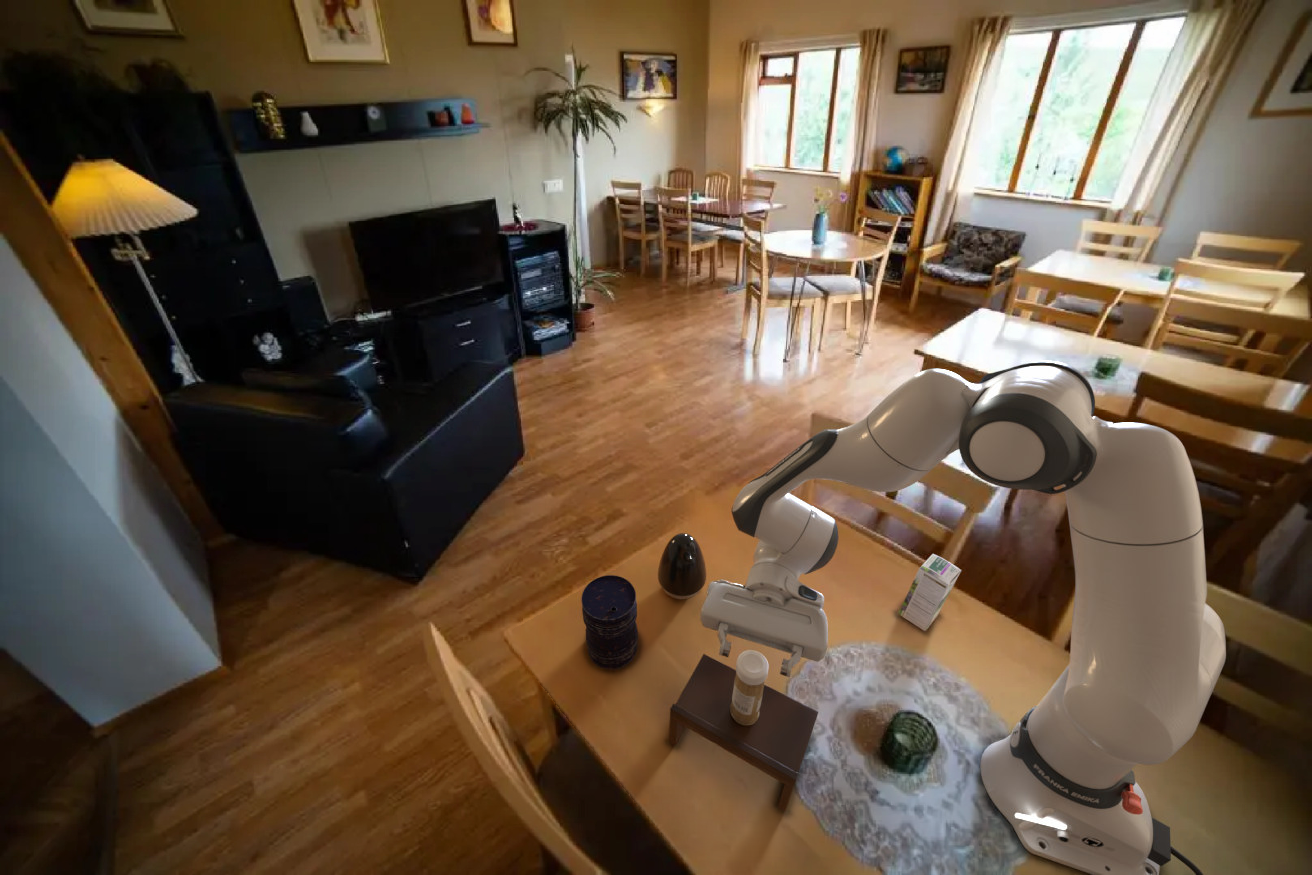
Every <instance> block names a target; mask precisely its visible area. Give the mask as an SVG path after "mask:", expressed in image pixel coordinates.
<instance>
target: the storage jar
mask: <svg viewBox="0 0 1312 875" xmlns="http://www.w3.org/2000/svg"><path fill="white" fill-rule="evenodd" d="M635 589H636V588H635V587H634V585H633V584H632V583H631V581H630V580H628V579H626V578H624V577H623V576H620V575H614V574H609V575H608V574H607V575H601V576H599V577H596V578H594V579H593V580H591V581H590V582H588V584H586V586H585V587H584V589H583V591H582V594H581V612H582V618H583V623H584V625H585V643H586V647H587V653H588V656H589V658H590V660H591V661H592V663H594V664H595V665H596V666H597V667H599V668H601V669H605V670H618V669H621V668H623V667H625V666H627V665H628V664H630V663H631V662H632V661H633V660H634V658H635V656H636V655H637V652H638V646H639V645H638V644H639V643H638V641H639V632H638V625H637V618H638V603H637V594H636V590H635Z"/></svg>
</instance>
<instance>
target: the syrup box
mask: <svg viewBox="0 0 1312 875" xmlns="http://www.w3.org/2000/svg"><path fill="white" fill-rule="evenodd" d="M961 572H962V569H960V568H959V567H957V565H954V564H953V563H952V562H950V561H948V560H946V559H945V558H943V557H941V556H939V555H937V554H934V553H932V554H931V555H930V556H929V557H928V558H927V559H926V560H925V562H923V564H921V566H920V567H919V568H918V570H917V571H916V574H915V577H914V578H913V581H912V583H911V585H910V587H909V589H908V591H907V593H906V596H905V597H904V600H903V603H902V605H901V606H900V609H899V611H898V615H899V616H901V617H902V618H904V619H905V620H907V621H908V622H909V623H912V625H914V626H916V627H917V628H919V629H921V630H922V631H923V632H926V631H927V630H928V629H929V627H930V626H931V625H932V623H933V622H934V621H935V620H936V618H937V617H938V615H939V614H940V613H941V610H942V608H943V606H944V604H945V603H946V601H947V599H948V597H949V595H950V594H951V591H952V589H953V587H954V586H955V584H956V581H957V580H958V577H959V576H960V574H961Z"/></svg>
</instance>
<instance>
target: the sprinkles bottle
mask: <svg viewBox="0 0 1312 875" xmlns="http://www.w3.org/2000/svg"><path fill="white" fill-rule="evenodd" d="M769 667H770V665H769V662H768V659H767V657H765V655H764V654H763V653H761V652H759V651H758V650H754V649H747V650H744V651H742V652H741V653H739V655H738V657H737V659H736V663H735V670H736V677H735V681H734V688H733V695H732V703H731V707H730V712H731V715H732V717H733V719H734V720H735V721H736V722H737V723H739V724H741V725H745V726H748V725H752V724H754V723H755V722H756V721H757V719H758V717H759V708H760V706H761V701H762V695H763V688H764V684H765V682H766V680H767V678H768V676H769V669H770V668H769Z"/></svg>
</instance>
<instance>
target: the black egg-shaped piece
mask: <svg viewBox="0 0 1312 875" xmlns="http://www.w3.org/2000/svg"><path fill="white" fill-rule="evenodd" d="M657 580H658V584H659V585H660V587H661V588H662V590H663V591H664V593H666V594H667V595H668V596H669V597H671V598H674V599H677V600H689V599H691V598H693V597H695V596H697V595H698V593H699V592H700V591H701V590H702V589H703V587H704V586H705V585H706V582H707V567H706V561H705V556H704V553H703V551H702V549H701V547H700V545H699V542H698V541H697V540H696V539H695V537H693V536H692V535H690V534H689V533H686V532H681V533H677V534H675V535H674V536H672V537H671V539H670V540H669V541H668V542H667V544H666V545H665V547H664V549H663V552H662V554H661V557H660V560H659V564H658V569H657Z"/></svg>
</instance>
